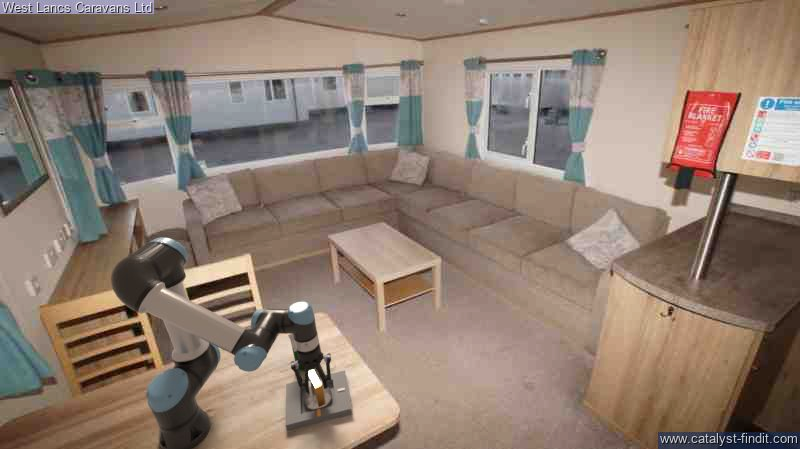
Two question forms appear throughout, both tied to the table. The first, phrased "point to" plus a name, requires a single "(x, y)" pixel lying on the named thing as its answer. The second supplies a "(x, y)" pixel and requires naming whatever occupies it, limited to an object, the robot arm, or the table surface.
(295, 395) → the panel
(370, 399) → the table surface
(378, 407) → the table surface
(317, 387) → the dial
